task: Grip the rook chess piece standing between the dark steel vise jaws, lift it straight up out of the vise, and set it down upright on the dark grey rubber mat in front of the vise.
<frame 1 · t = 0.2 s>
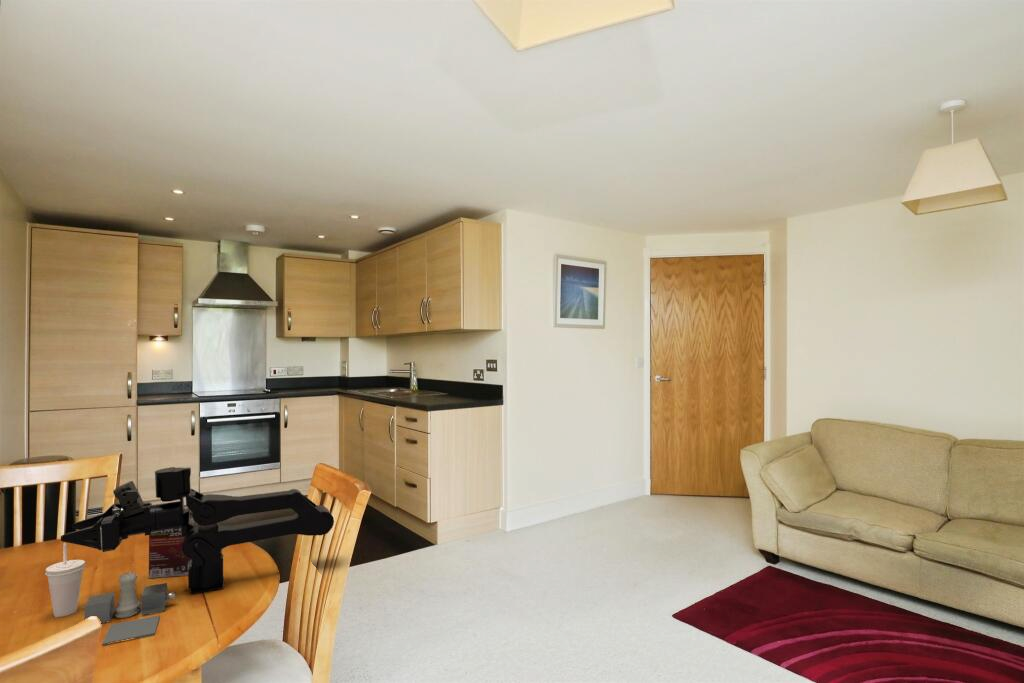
hand: (66, 532, 112), 16 cm above the table, tool horizontal, fingers open, 9 cm apart
supplement box: (172, 574, 132), on the table
smoothie: (65, 613, 112), on the table
mat: (132, 630, 104), on the table
rook chess piece: (127, 614, 111), on the table
vise: (127, 613, 111), on the table
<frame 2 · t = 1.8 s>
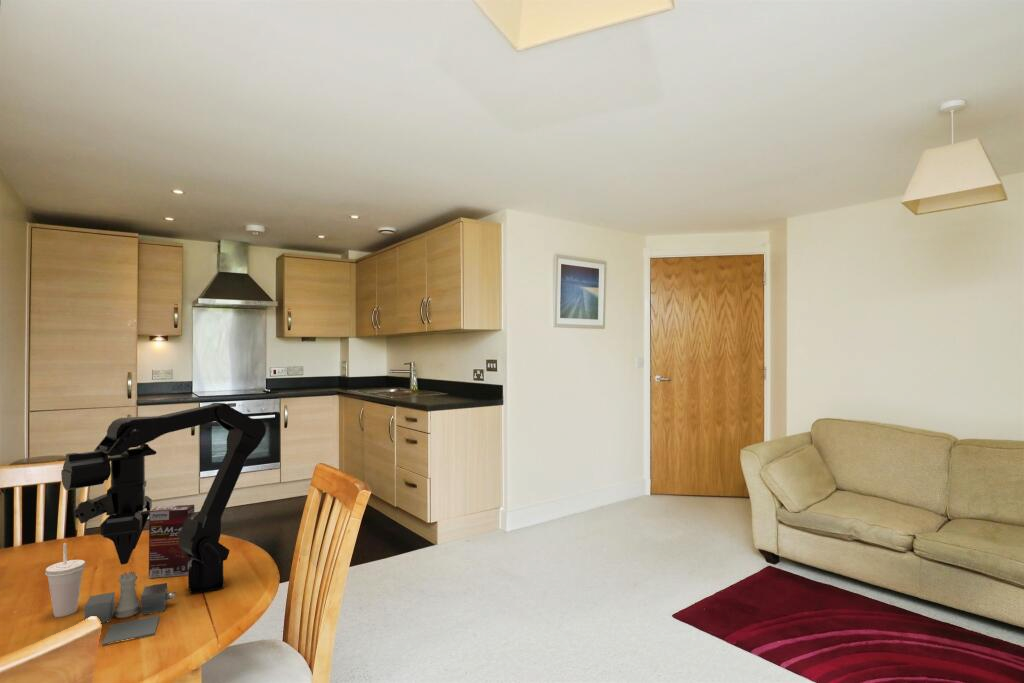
hand: (128, 556, 112), 12 cm above the table, tool pointing down, fingers open, 9 cm apart
nothing on the table moved.
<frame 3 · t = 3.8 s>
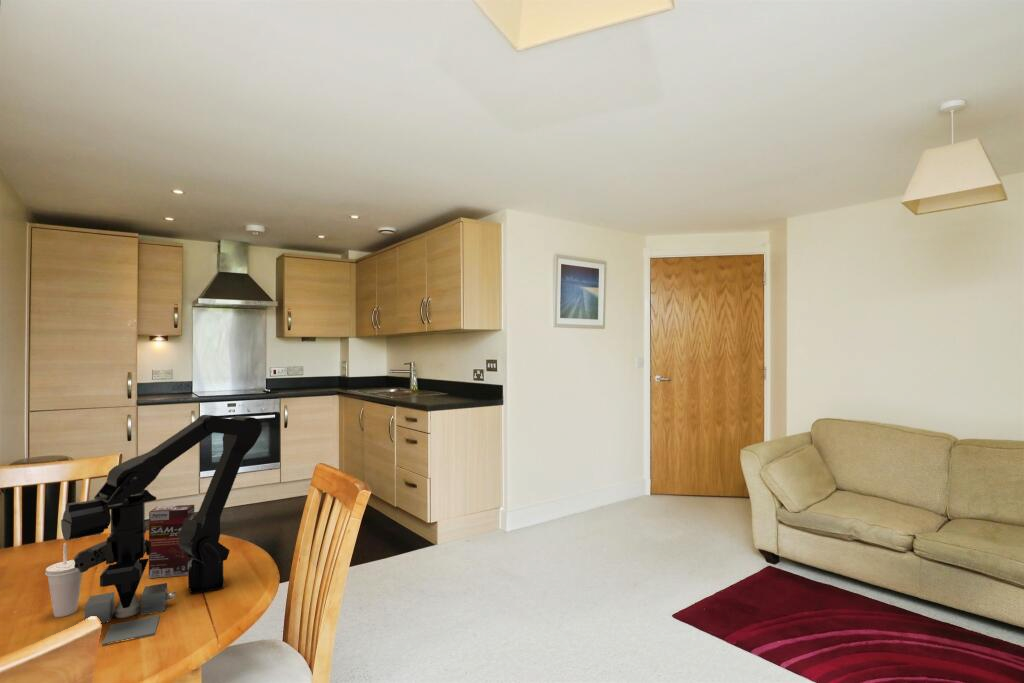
hand: (127, 603, 111), 2 cm above the table, tool pointing down, fingers closed on rook chess piece, 3 cm apart
rook chess piece: (127, 614, 111), on the table, touching gripper
everything else where it was.
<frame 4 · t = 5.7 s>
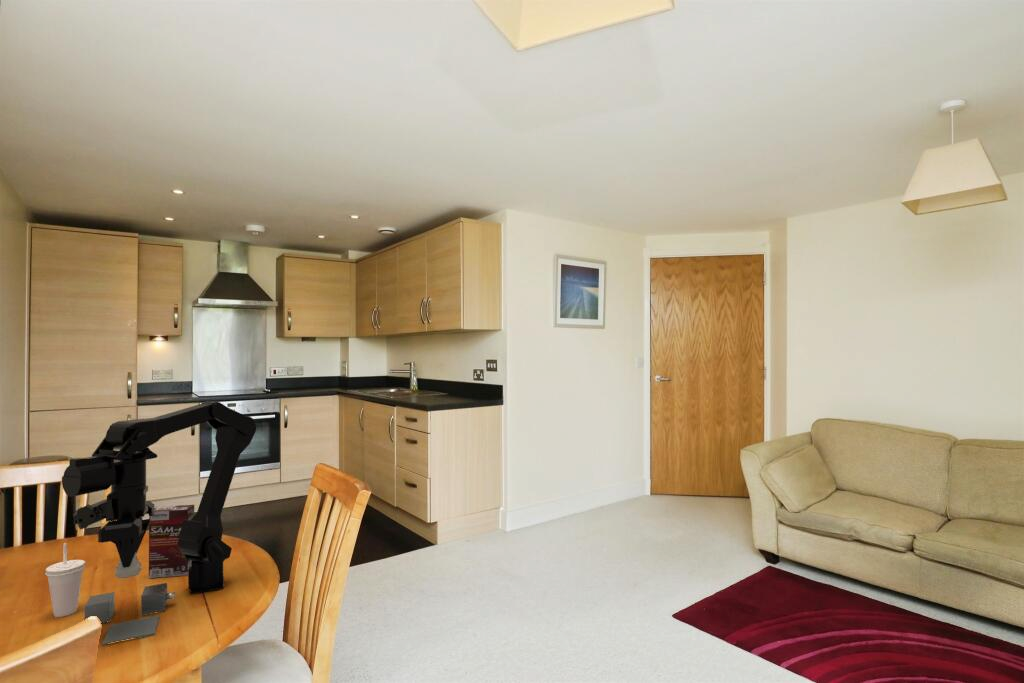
hand: (128, 563, 108), 11 cm above the table, tool pointing down, fingers closed on rook chess piece, 3 cm apart
rook chess piece: (128, 575, 108), point 9 cm above the table, touching gripper
everything else where it was.
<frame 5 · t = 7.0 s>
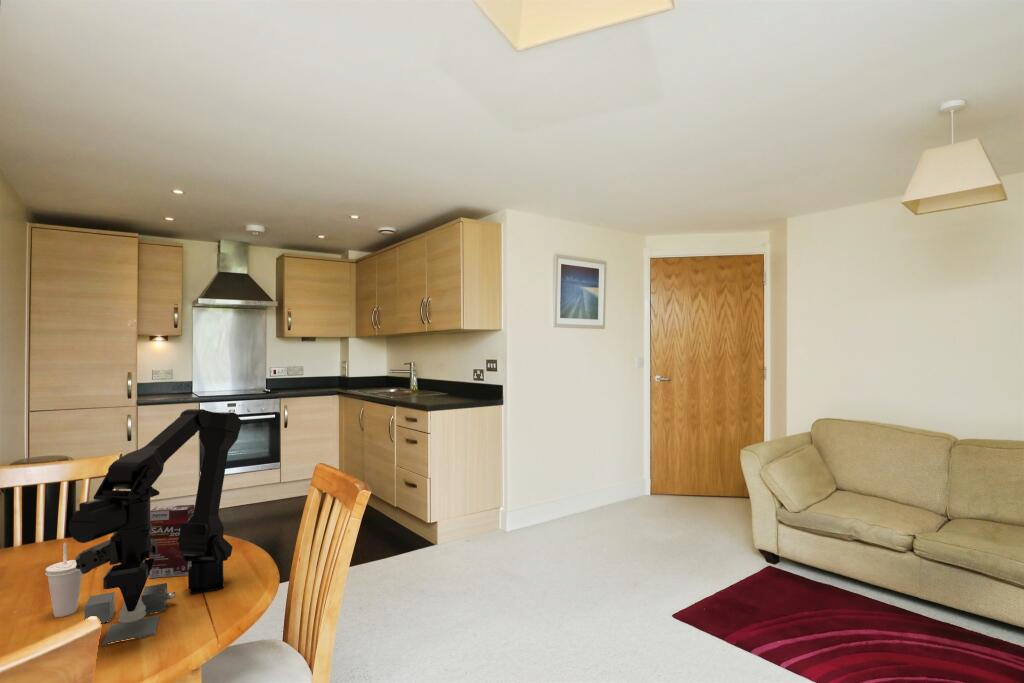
hand: (133, 606, 104), 4 cm above the table, tool pointing down, fingers closed on rook chess piece, 3 cm apart
rook chess piece: (132, 619, 104), point 2 cm above the table, touching gripper
everything else where it was.
when the fingers open (4 cm above the table, at t = 7.8 s): rook chess piece drops 1 cm, resting on mat.
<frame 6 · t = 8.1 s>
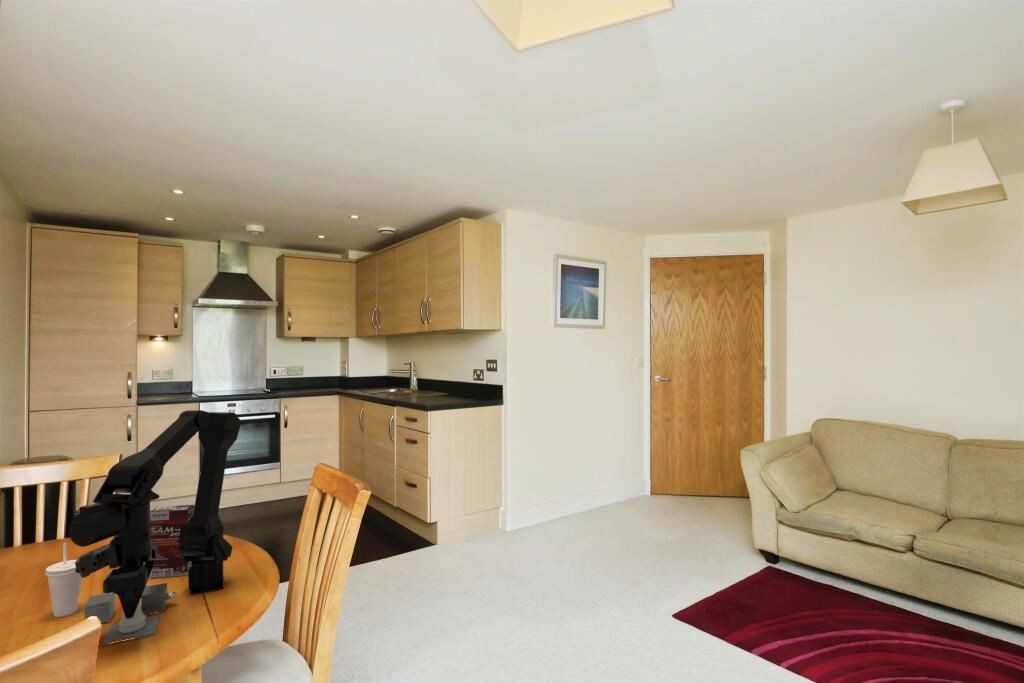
hand: (132, 610, 104), 4 cm above the table, tool pointing down, fingers open, 6 cm apart
rook chess piece: (132, 629, 104), resting on mat
everything else where it was.
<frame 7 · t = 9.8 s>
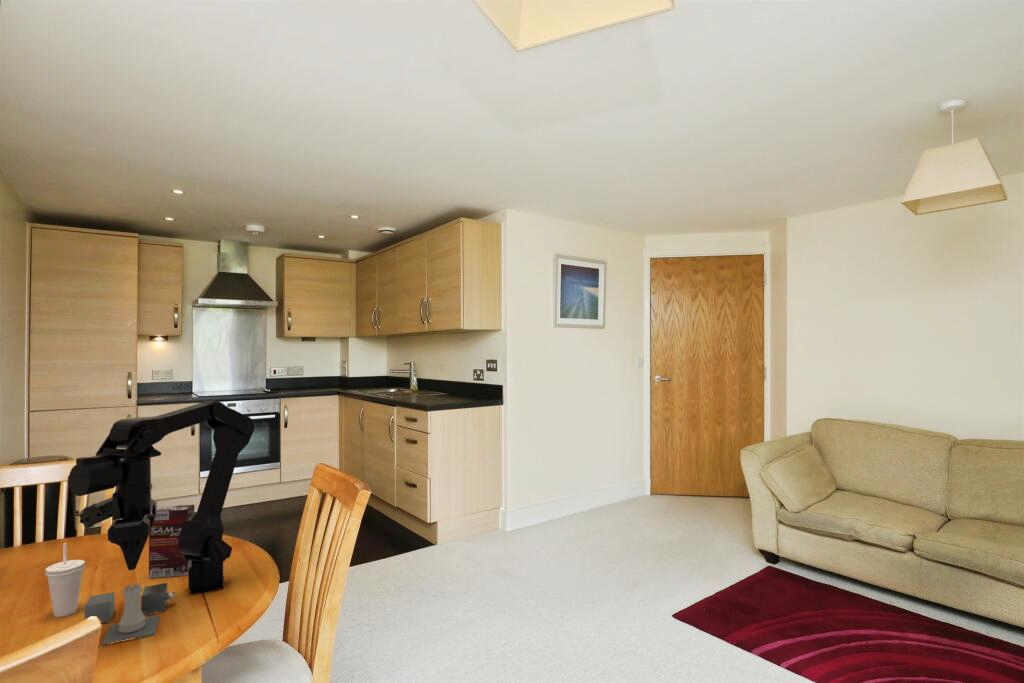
hand: (134, 561, 108), 12 cm above the table, tool pointing down, fingers open, 9 cm apart
nothing on the table moved.
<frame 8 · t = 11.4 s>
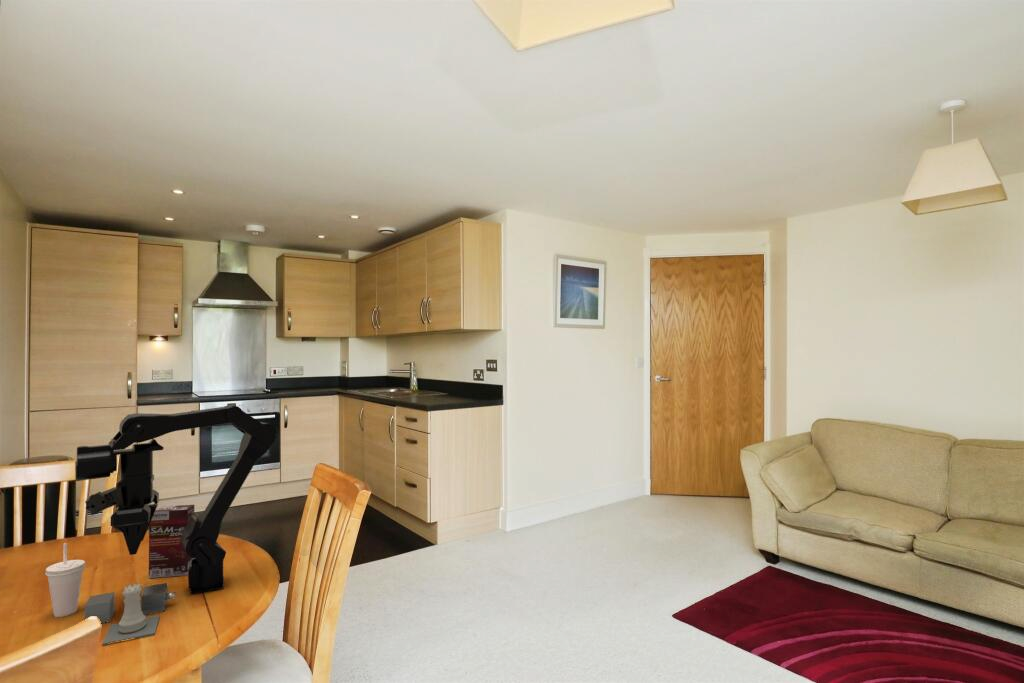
hand: (136, 547, 115), 12 cm above the table, tool pointing down, fingers open, 9 cm apart
nothing on the table moved.
at the end: rook chess piece 0.1 cm off-centre on the mat, point 0.2 cm above the mat's base; rook chess piece tilted 0°; the gripper is holding nothing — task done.
